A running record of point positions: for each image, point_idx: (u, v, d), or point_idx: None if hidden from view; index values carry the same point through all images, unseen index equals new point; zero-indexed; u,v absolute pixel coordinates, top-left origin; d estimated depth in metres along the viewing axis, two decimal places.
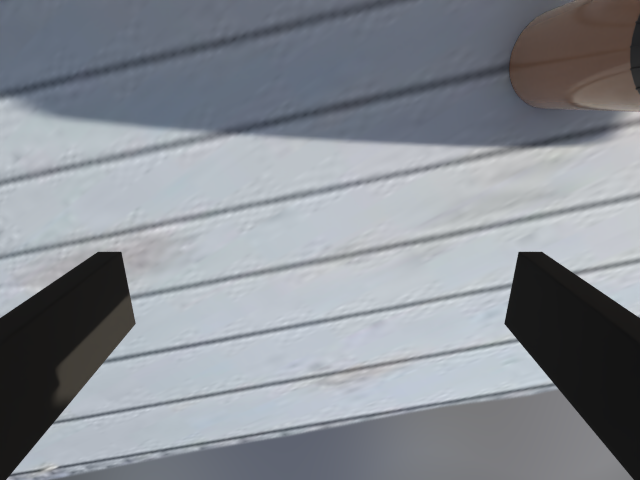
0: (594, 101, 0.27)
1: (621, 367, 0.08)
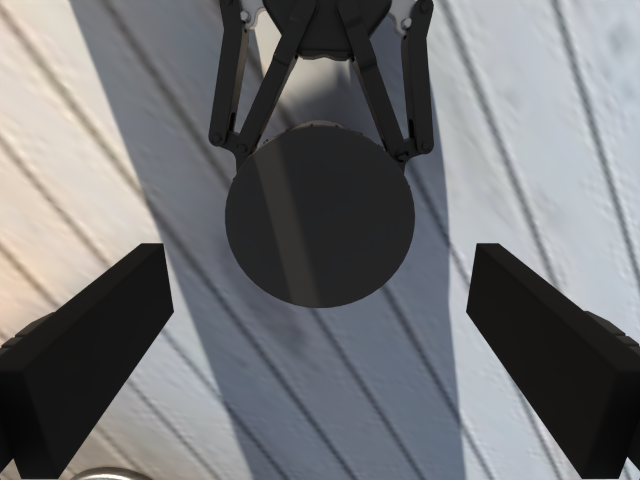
0: None
1: (551, 344, 0.09)
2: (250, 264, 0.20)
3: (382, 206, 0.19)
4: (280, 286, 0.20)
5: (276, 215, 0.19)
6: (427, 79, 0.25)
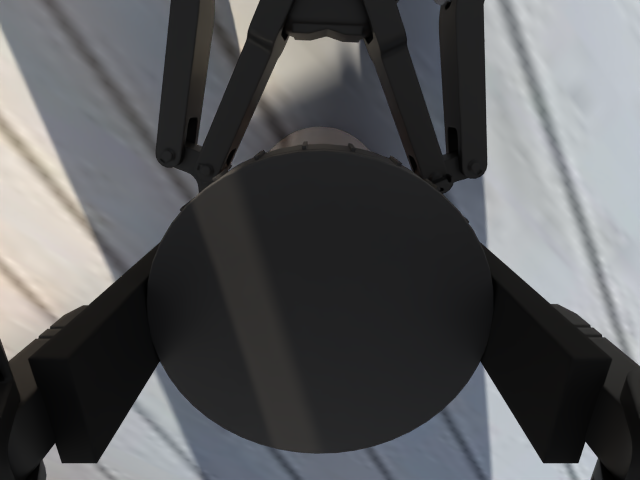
0: None
1: (517, 335, 0.09)
2: (197, 389, 0.11)
3: (435, 295, 0.10)
4: (251, 422, 0.12)
5: (240, 310, 0.10)
6: (482, 68, 0.17)
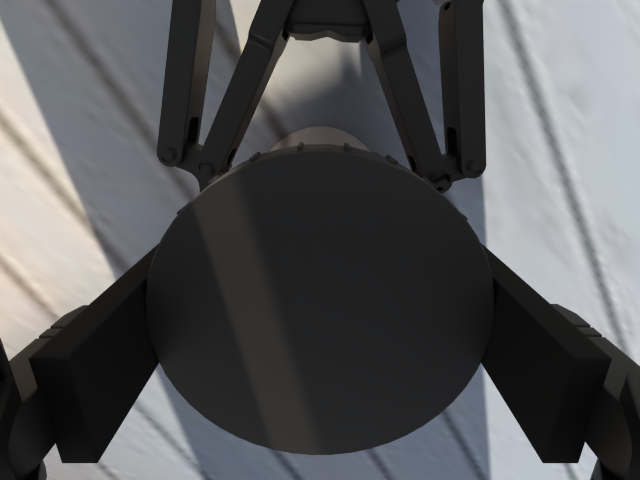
0: None
1: (517, 335, 0.09)
2: (352, 440, 0.12)
3: (317, 214, 0.09)
4: (408, 412, 0.11)
5: (281, 384, 0.11)
6: (481, 68, 0.17)
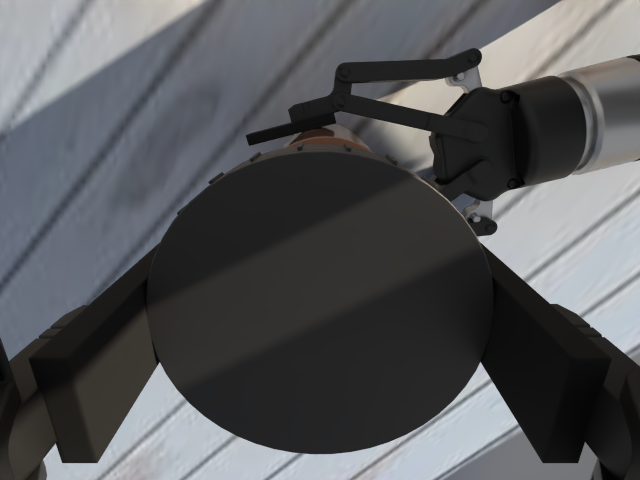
0: None
1: (517, 335, 0.09)
2: (352, 439, 0.12)
3: (317, 214, 0.09)
4: (408, 412, 0.12)
5: (281, 383, 0.11)
6: None
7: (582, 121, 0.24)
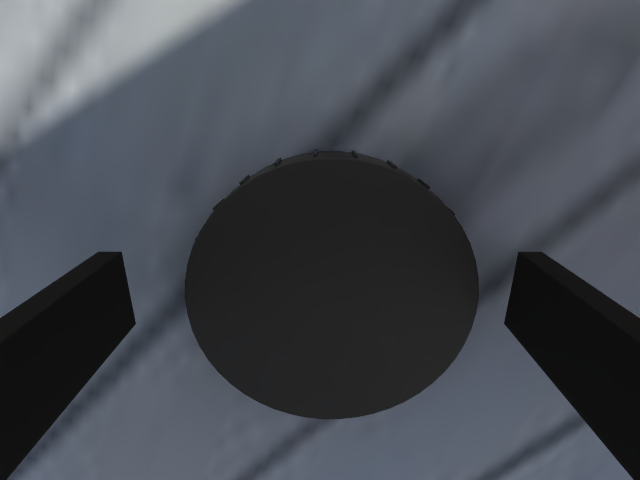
0: None
1: (620, 367, 0.08)
2: (358, 405, 0.14)
3: (330, 210, 0.11)
4: (406, 381, 0.13)
5: (297, 355, 0.13)
6: None
7: None
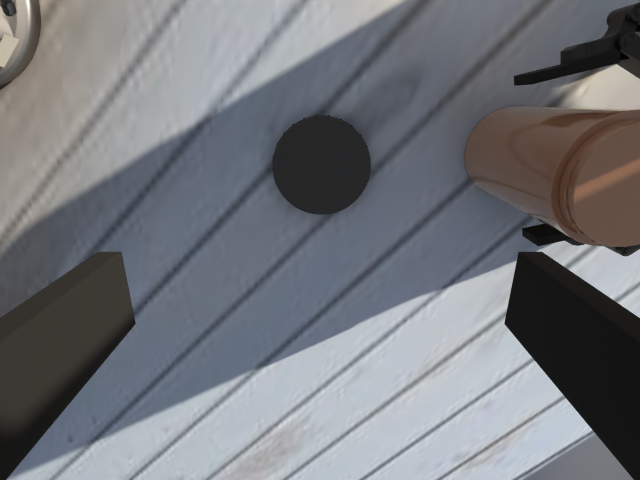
0: None
1: (621, 367, 0.08)
2: (331, 208, 0.38)
3: (320, 133, 0.36)
4: (348, 197, 0.38)
5: (310, 187, 0.38)
6: None
7: None
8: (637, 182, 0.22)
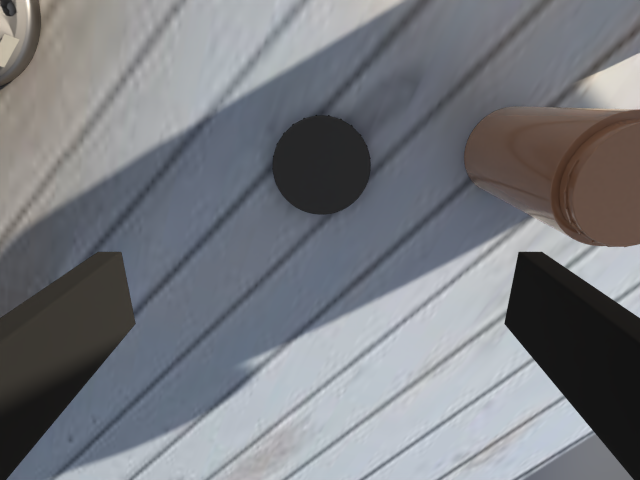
0: None
1: (621, 367, 0.08)
2: (331, 208, 0.38)
3: (320, 133, 0.36)
4: (348, 197, 0.38)
5: (310, 187, 0.38)
6: None
7: None
8: (637, 182, 0.22)
